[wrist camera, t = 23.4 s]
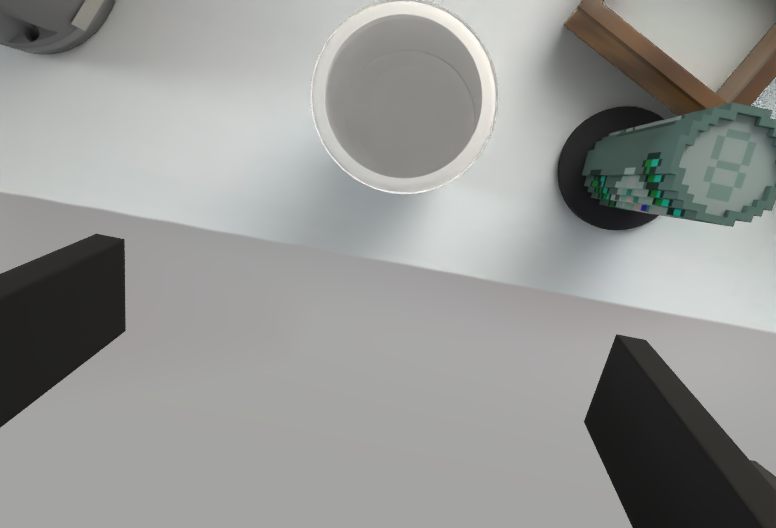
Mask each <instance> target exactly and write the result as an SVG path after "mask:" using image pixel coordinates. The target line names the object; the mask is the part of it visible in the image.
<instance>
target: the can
mask: <svg viewBox="0 0 776 528" xmlns="http://www.w3.org/2000/svg"><path fill="white" fill-rule="evenodd" d="M771 113H772V110H768V109H763V108H758V107H753V106H748V105H743V104H738V103H729V104H725V105H721V106H717V107H713V108H709V109H705V110H701V111H697V112H693V113H689V114H685V115H681V116H677V117H673V118H669V119H665V120H661V121H657V122H652V123H648V124H644V125H640V126H636V127H632V128H628V129H624V130H620V131H617V132H613V133H609V134H608V136H607V137H603V138H602V140H601V141H597V142H596V144H595V147H594V150H589V151H588V154H587V157H586V161H585V165H584V168H583V172H582V175H583V176H586V180H585V183H584V186H587V187H588V191H587V192H591V193H592V195H591V198H595V199H600V203H599V204H600V205H605V206H609V207H614V208H619V209H624V210H630V211H637V212H643V213H649V214H656V215H662V216H668V217H675V218H681V219H687V220H694V221H700V222H706V223H713V224H719V225H725V226H732V227H733V226H734V223H735V220H736V221H744V222H751V221H752V218H753V216H762V213H763V210H770V211H772V208H773V205H774V203H775V200H776V120H775V119H770V116H771Z"/></svg>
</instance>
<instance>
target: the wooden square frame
mask: <svg viewBox="0 0 776 528" xmlns="http://www.w3.org/2000/svg"><path fill="white" fill-rule="evenodd" d="M603 1H604V0H582V1H581V3H580V4H579V5H578V7H577V8H576V9H575V11H574V12H573V13H572V15H571V16H570V17H569V18H568V20H567V21H566V22H565V24H564V26H565V27H567V28H568V29H569V30H570V31H572V32H573V33H574V34H575V35H577V36H578V37H579V38H580V39H582V40H583V41H584V42H586V43H587V44H588V45H589V46H591V47H592V48H593V49H594V50H596V51H597V52H598V53H599V54H601V55H602V56H603V57H604V58H606V59H607V60H608V61H609V62H611V63H612V64H613V65H615V66H616V67H617V68H618V69H620V70H621V71H622V72H623V73H625V74H626V75H627V76H628V77H630V78H631V79H632V80H633V81H635V82H636V83H637V84H638V85H640V86H641V87H642V88H643V89H645V90H646V91H647V92H649V93H650V94H651V95H652V96H654V97H655V98H656V99H657V100H659V101H660V102H661V103H662V104H664V105H665V106H666V107H667V108H669V109H670V110H671V111H672V112H674V113H675V114H676V115H678V116H681V115H685V114H689V113H693V112H697V111H701V110H705V109H709V108H713V107H717V106H721V105H725V104H729V103H738V104H743V105H748V106H750V105H751V104H752V103H753V102H754V101H755V100H756V98H757V97H758V96H759V95H760V94H761V93H762V92H763V90H764V89H765V88H766V87H767V86H768V85H769V84H770V82H771V81H772V80H773V79H774V78H775V77H776V23H775V24H774V26H773V27H772V28H771V29H770V30H769V31H768V33H767V34H766V35H765V36H764V37H763V38H762V40H761V41H760V42H759V43H758V44H757V45H756V47H755V48H754V49H753V50H752V51H751V52H750V54H749V55H748V56H747V57H746V58H745V59H744V61H743V62H742V63H741V64H740V65H739V67H738V68H737V69H736V70H735V71H734V72H733V74H732V75H731V76H730V77H729V78H728V79H727V81H726V82H725V83H724V84H723V85H722V86H721V88H720V89H719V90H718V91H717V92H716V93H714V92H713V91H712V90H710V89H709V88H708V87H707V86H705V85H704V84H703V83H702V82H700V81H699V80H698V79H697V78H695V77H694V76H693V75H692V74H690V73H689V72H688V71H687V70H685V69H684V68H683V67H682V66H680V65H679V64H678V63H677V62H675V61H674V60H673V59H672V58H670V57H669V56H668V55H667V54H665V53H664V52H663V51H662V50H660V49H659V48H658V47H657V46H655V45H654V44H653V43H652V42H650V41H649V40H648V39H647V38H645V37H644V36H643V35H642V34H640V33H639V32H638V31H637V30H635V29H634V28H633V27H632V26H630V25H629V24H628V23H627V22H625V21H624V20H623V19H622V18H620V17H619V16H618V15H617V14H615V13H614V12H613V11H612V10H610V9H609V8H608V7H607V6H605V5H604V4H603V3H602V2H603Z"/></svg>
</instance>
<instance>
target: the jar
mask: <svg viewBox="0 0 776 528" xmlns="http://www.w3.org/2000/svg"><path fill="white" fill-rule="evenodd" d="M311 109H312V115H313V120H314V123H315V127H316V130H317V132H318V135H319V137H320V139H321V141H322V143H323V145H324V147H325V148H326V150H327V152H328V153H329V154H330V156H331V157H332V158H333V160H334V161H335V162H336V163H337V164H338V165H339V166H340V167H341V168H342V169H343V170H344V171H345V172H346V173H348V174H349V175H350V176H352V177H353V178H354V179H356V180H358V181H359V182H361V183H363V184H365V185H367V186H369V187H372V188H374V189H377V190H380V191H384V192H389V193H396V194H415V193H422V192H426V191H430V190H433V189H436V188H439V187H441V186H444V185H446V184H448V183H449V182H451V181H453V180H454V179H456V178H457V177H459V176H460V175H461V174H463V173H464V172H465V171H466V170H467V169H468V168H469V167H470V166H471V165H472V164H473V163H474V162H475V161H476V160H477V158H478V157H479V156H480V154H481V153H482V151H483V150H484V148H485V146H486V145H487V143H488V141H489V139H490V136H491V134H492V131H493V128H494V125H495V121H496V117H497V111H498V83H497V77H496V73H495V69H494V66H493V63H492V60H491V58H490V56H489V53H488V51H487V49H486V48H485V46H484V44H483V43H482V41H481V40H480V38H479V37H478V36H477V34H476V33H475V32H474V31H473V30H472V28H471V27H470V26H469V25H468V24H466V23H465V22H464V21H463V20H462V19H461V18H459V17H458V16H457V15H455V14H454V13H452V12H450V11H449V10H447V9H445V8H443V7H441V6H438V5H436V4H433V3H430V2H426V1H422V0H386V1H381V2H378V3H375V4H372V5H369V6H367V7H365V8H363V9H361V10H359V11H357V12H356V13H354V14H353V15H351V16H350V17H349V18H347V19H346V20H345V21H344V22H342V23H341V24H340V25H339V26H338V27H337V28H336V30H335V31H334V32H333V33H332V34H331V36H330V37H329V38H328V40H327V41H326V43H325V45H324V46H323V48H322V50H321V52H320V54H319V56H318V59H317V62H316V65H315V68H314V72H313V76H312V82H311Z"/></svg>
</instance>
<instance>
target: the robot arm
mask: <svg viewBox="0 0 776 528" xmlns="http://www.w3.org/2000/svg"><path fill="white" fill-rule="evenodd" d="M114 2H115V0H0V44H2V45H5V46H9V47H12V48H15V49H18V50H21V51H24V52H29V53H35V54H52V53H59V52H63V51H66V50H69V49H72V48H74V47H76V46H78V45H80V44H81V43H83V42H84V41H86V40H87V39H88V38H90V37H91V36H92V35H93V34H94V33H95V32H96V31H97V30H98V29H99V28H100V26H101V25H102V24H103V23H104V21H105V20H106V18H107V16H108V15H109V13H110V11H111V9H112V7H113V4H114ZM124 255H125V252H124V239H120V238H115V237H110V236H104V235H100V234H95V235H93V236H90V237H88V238H85V239H83V240H81V241H78V242H76V243H73V244H71V245H69V246H66V247H64V248H62V249H59V250H57V251H54V252H52V253H49V254H47V255H45V256H42V257H40V258H37V259H35V260H33V261H30V262H28V263H25V264H23V265H21V266H18V267H16V268H13V269H11V270H9V271H6V272H4V273H1V274H0V427H1V426H3V425H4V424H5V423H7V422H8V421H9V420H11V419H12V418H13V417H15V416H16V415H17V414H18V413H20V412H21V411H22V410H23V409H25V408H26V407H28V406H29V405H30V404H31V403H33V402H34V401H35V400H37V399H38V398H39V397H40V396H42V395H43V394H44V393H45V392H47V391H48V390H49V389H51V388H52V387H53V386H54V385H56V384H57V383H58V382H60V381H61V380H63V379H64V378H65V377H66V376H68V375H69V374H70V373H72V372H73V371H74V370H75V369H77V368H78V367H79V366H81V365H82V364H83V363H84V362H86V361H87V360H88V359H90V358H91V357H92V356H94V355H95V354H96V353H97V352H99V351H100V350H101V349H103V348H104V347H105V346H107V345H108V344H109V343H110V342H112V341H113V340H114V339H115V338H117V337H118V336H119V335H121V334H122V333H123V332H124V331H125V259H124V258H125V256H124ZM584 423H585V425H586V427H587V429H588V431H589V434H590V436H591V438H592V440H593V442H594V444H595V447H596V449H597V451H598V453H599V455H600V458H601V459H602V462H603V464H604V466H605V468H606V471H607V473H608V475H609V477H610V479H611V481H612V484H613V486H614V488H615V490H616V492H617V494H618V497H619V499H620V501H621V503H622V505H623V507H624V510H625V512H626V514H627V516H628V518H629V521H630V523H631V525H632V527H633V528H776V477H775V476H774V475H773V474H771V473H770V472H769V471H768V470H766V469H765V468H763V467H762V466H761V465H759V464H758V463H757V462H756V461H751V460H749V459H748V458H747V457H746V456H745V454H744V453H743V452H742V451H741V450H740V449H739V448H738V446H737V445H736V444H735V443H734V442H733V440H732V439H731V438H730V437H729V436H728V435H727V434H726V432H725V431H724V430H723V429H722V428H721V427H720V425H719V424H718V423H717V422H716V421H715V420H714V418H713V417H712V416H711V415H710V414H709V413H708V412H707V410H706V409H705V408H704V407H703V406H702V405H701V403H700V402H699V401H698V400H697V399H696V398H695V397H694V395H693V394H692V393H691V392H690V391H689V390H688V388H687V387H686V386H685V385H684V384H683V383H682V381H681V380H680V379H679V378H678V377H677V376H676V374H675V373H674V372H673V371H672V370H671V369H670V368H669V366H668V365H667V364H666V363H665V362H664V361H663V359H662V358H661V357H660V356H659V355H658V354H657V352H656V351H655V350H654V349H653V348H652V347H651V346H650V344H649V343H648V342H647V341H646V340H642V339H637V338H632V337H627V336H622V335H616V337H615V340H614V342H613V345H612V348H611V350H610V353H609V356H608V358H607V361H606V364H605V367H604V369H603V372H602V375H601V377H600V380H599V383H598V385H597V388H596V391H595V394H594V396H593V399H592V402H591V404H590V407H589V410H588V412H587V415H586V418H585V421H584Z"/></svg>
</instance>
